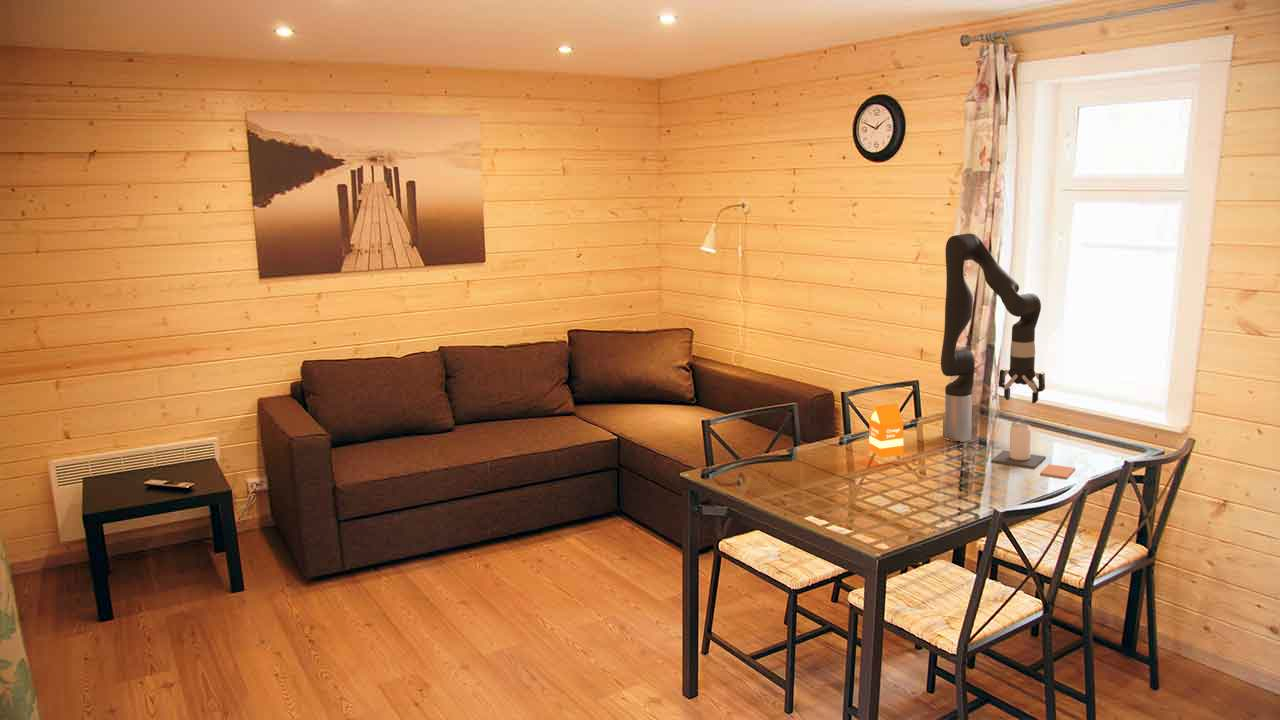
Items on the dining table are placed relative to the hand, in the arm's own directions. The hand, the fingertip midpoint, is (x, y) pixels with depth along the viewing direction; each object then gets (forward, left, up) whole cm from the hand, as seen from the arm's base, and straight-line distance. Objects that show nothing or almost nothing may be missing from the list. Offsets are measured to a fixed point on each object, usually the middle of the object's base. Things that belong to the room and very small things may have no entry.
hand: (1020, 401), depth 303 cm
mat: (0, -1, -20) cm, 20 cm away
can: (+1, -1, -20) cm, 20 cm away
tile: (+14, -2, -20) cm, 25 cm away
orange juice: (-38, -23, -21) cm, 49 cm away
